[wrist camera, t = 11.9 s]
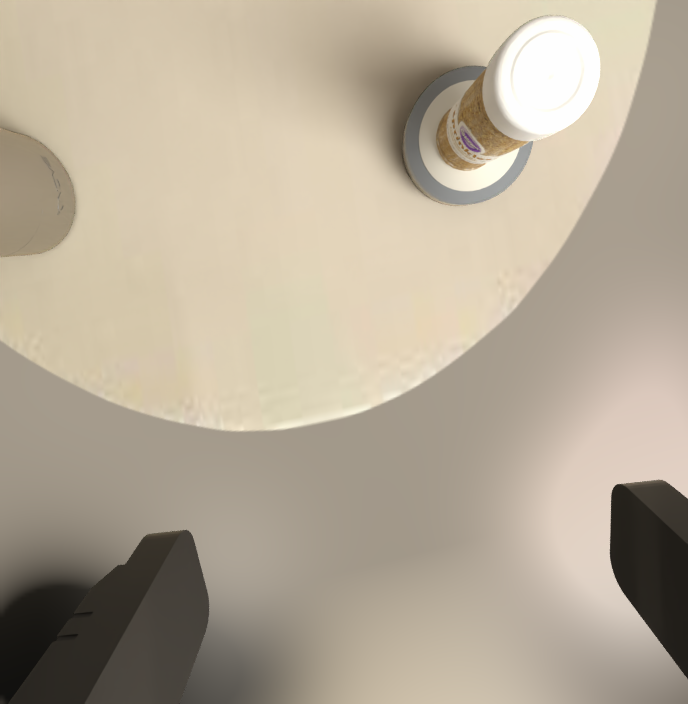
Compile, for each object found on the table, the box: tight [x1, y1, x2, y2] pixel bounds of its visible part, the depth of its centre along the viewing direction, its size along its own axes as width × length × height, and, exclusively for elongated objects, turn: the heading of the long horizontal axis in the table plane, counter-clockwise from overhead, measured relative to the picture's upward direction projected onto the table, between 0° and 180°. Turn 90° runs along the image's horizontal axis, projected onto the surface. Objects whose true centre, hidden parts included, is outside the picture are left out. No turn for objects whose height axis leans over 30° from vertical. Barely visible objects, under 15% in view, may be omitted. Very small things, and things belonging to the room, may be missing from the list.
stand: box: [402, 66, 533, 206], centre depth 33 cm, size 9×9×3 cm
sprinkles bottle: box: [436, 15, 600, 171], centre depth 25 cm, size 5×4×14 cm
